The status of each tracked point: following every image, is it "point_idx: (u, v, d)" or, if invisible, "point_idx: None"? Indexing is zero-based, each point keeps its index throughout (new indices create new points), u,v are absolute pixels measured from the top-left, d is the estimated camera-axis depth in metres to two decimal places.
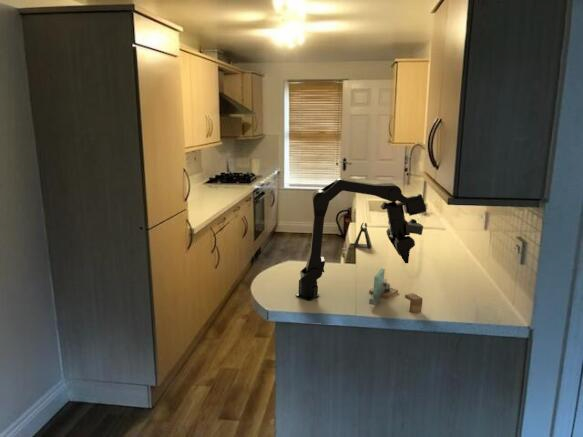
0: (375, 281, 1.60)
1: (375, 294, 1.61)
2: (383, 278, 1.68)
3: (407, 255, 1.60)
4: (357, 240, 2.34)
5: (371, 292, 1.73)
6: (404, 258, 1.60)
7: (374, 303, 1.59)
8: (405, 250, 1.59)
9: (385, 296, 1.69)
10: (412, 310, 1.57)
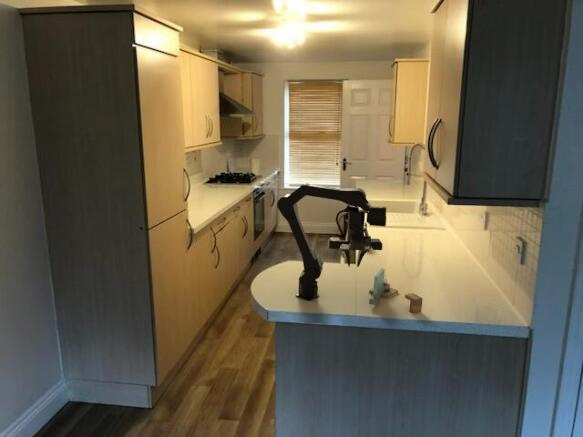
0: (375, 281, 1.60)
1: (375, 294, 1.61)
2: (383, 278, 1.68)
3: (347, 259, 1.62)
4: None
5: (371, 292, 1.73)
6: None
7: (374, 303, 1.59)
8: None
9: (385, 296, 1.69)
10: (412, 310, 1.57)
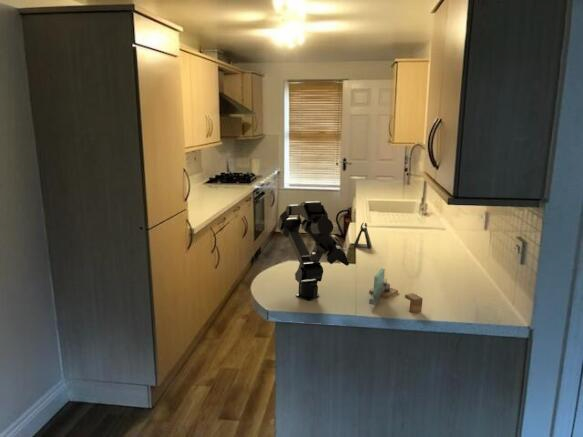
0: (375, 281, 1.60)
1: (375, 294, 1.61)
2: (383, 278, 1.68)
3: None
4: (357, 240, 2.34)
5: (371, 292, 1.73)
6: None
7: (374, 303, 1.59)
8: None
9: (385, 296, 1.69)
10: (412, 310, 1.57)
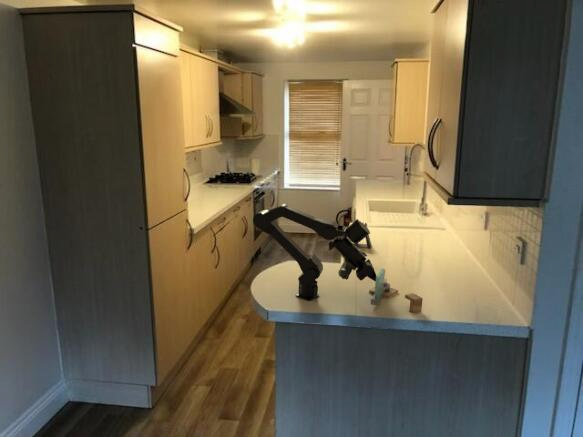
0: (377, 281, 1.60)
1: (377, 294, 1.61)
2: None
3: None
4: None
5: (371, 292, 1.73)
6: None
7: (376, 303, 1.59)
8: None
9: (385, 296, 1.69)
10: (412, 310, 1.57)
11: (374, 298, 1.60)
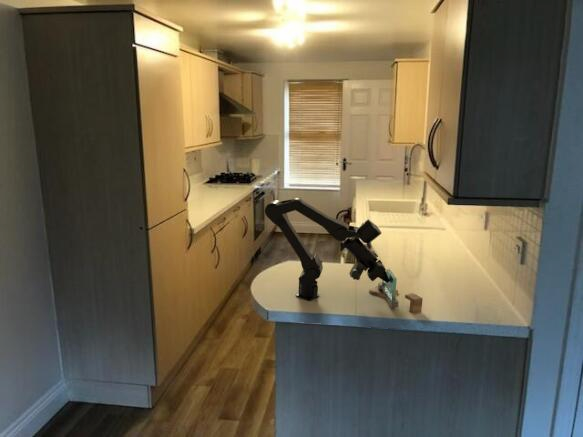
0: (394, 283, 1.59)
1: (394, 296, 1.60)
2: None
3: None
4: None
5: (371, 292, 1.73)
6: None
7: (396, 305, 1.58)
8: None
9: None
10: (412, 310, 1.57)
11: (393, 300, 1.59)
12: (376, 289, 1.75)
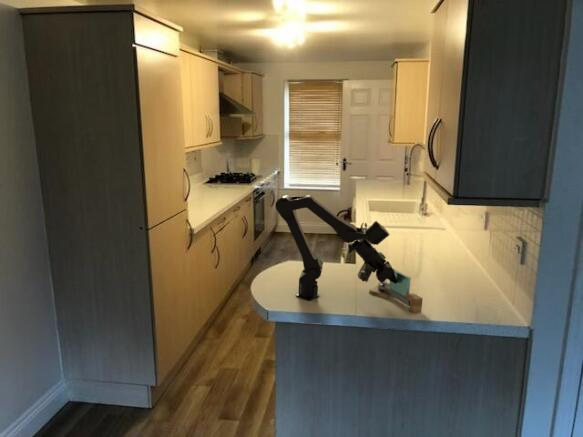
0: (408, 282, 1.60)
1: None
2: None
3: None
4: None
5: (371, 292, 1.73)
6: None
7: None
8: None
9: (385, 296, 1.69)
10: (412, 310, 1.57)
11: None
12: (376, 289, 1.75)
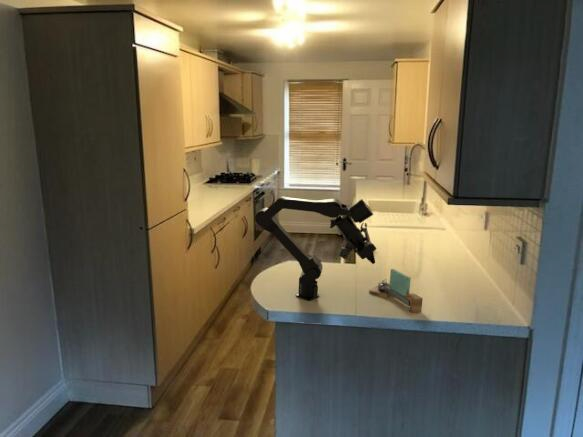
0: (408, 282, 1.60)
1: None
2: None
3: None
4: None
5: (371, 292, 1.73)
6: None
7: None
8: None
9: (385, 296, 1.69)
10: (412, 310, 1.57)
11: None
12: (376, 289, 1.75)
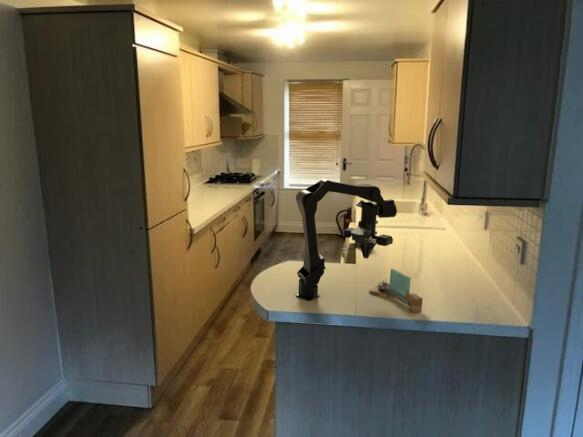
0: (408, 282, 1.60)
1: None
2: None
3: None
4: None
5: (371, 292, 1.73)
6: None
7: None
8: None
9: (385, 296, 1.69)
10: (412, 310, 1.57)
11: None
12: (376, 289, 1.75)
